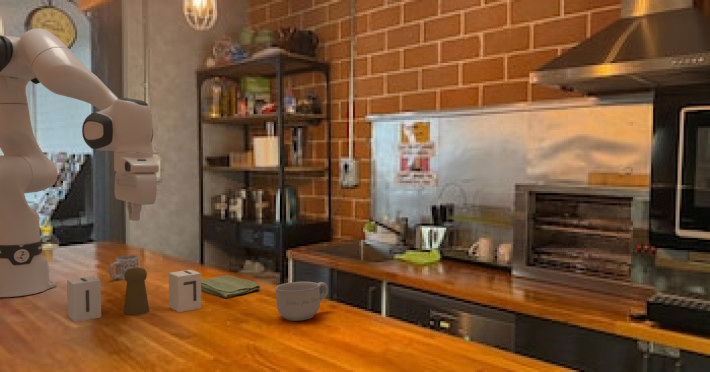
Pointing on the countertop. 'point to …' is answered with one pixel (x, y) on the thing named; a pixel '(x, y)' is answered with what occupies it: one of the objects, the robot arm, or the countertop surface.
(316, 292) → the teacup
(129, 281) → the dark brown tapered piece
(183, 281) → the cream marked block
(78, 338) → the countertop surface
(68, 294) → the grey marked block
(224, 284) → the washcloth
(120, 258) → the mug
